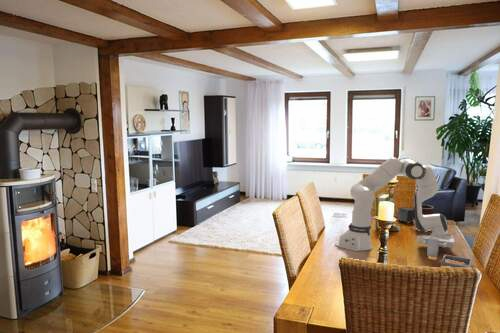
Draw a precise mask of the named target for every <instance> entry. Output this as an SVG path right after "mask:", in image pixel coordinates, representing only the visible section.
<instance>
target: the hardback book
mask: <svg viewBox="0 0 500 333" xmlns="http://www.w3.org/2000/svg"><path fill="white" fill-rule="evenodd" d="M375 199H376V202H375V206H376V207H375V217H376V216H378V204H379V202H380V201H392V202H393V203H394V197H393V198H392V199H391V200H390V198H389V193H388V192H382V193H380V194H379V195H377V196H375ZM374 226H375V228H376V229H375V230H378V229H379V227H378V224H377V221H376V220H375V225H374ZM377 228H378V229H377Z"/></svg>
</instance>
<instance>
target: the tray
mask: <svg viewBox="0 0 500 333" xmlns="http://www.w3.org/2000/svg"><path fill="white" fill-rule="evenodd" d="M445 259H450V260H455V261H459V262H464V263H465V264H463V265H462V264H461V265H459V264H453V263H447V262H445ZM473 262H474V259H473V258H469V257H464V256H463V257H462V256H456V255H449V254H443V257H442V259H441V261H440V265H442V266H451V267H472V268H473Z"/></svg>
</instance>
